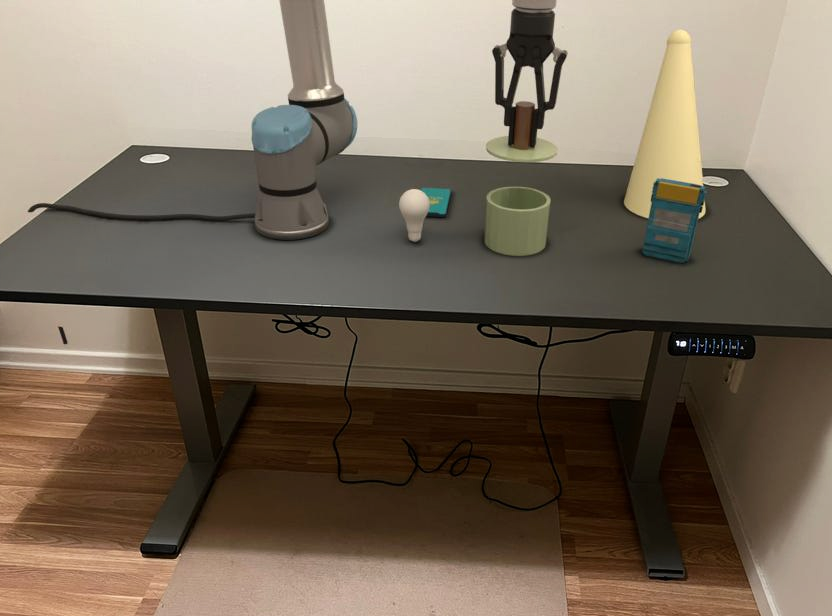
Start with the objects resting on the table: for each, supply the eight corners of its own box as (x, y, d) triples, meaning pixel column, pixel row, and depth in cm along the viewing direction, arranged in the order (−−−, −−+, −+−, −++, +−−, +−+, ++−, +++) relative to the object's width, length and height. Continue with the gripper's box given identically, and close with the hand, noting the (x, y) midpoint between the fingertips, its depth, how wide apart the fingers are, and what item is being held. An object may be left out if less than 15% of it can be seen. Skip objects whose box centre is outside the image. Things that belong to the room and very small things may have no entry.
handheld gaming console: (691, 257, 144) (708, 185, 135) (687, 266, 141) (704, 193, 132) (642, 247, 147) (656, 176, 139) (638, 255, 144) (651, 183, 136)
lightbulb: (435, 239, 148) (435, 188, 142) (418, 250, 144) (418, 198, 138) (410, 232, 151) (410, 182, 145) (393, 243, 147) (392, 191, 141)
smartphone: (451, 188, 169) (445, 213, 157) (451, 191, 170) (445, 217, 157) (420, 187, 170) (412, 212, 157) (420, 190, 170) (412, 216, 158)
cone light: (715, 223, 158) (756, 53, 138) (631, 220, 158) (660, 50, 138) (688, 182, 178) (721, 29, 158) (614, 180, 179) (637, 26, 159)
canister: (479, 251, 144) (481, 207, 139) (490, 226, 154) (492, 183, 149) (542, 259, 142) (546, 213, 137) (548, 232, 152) (553, 189, 147)
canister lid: (479, 161, 134) (482, 110, 129) (492, 138, 145) (495, 91, 139) (553, 168, 132) (558, 117, 126) (560, 145, 142) (565, 97, 137)
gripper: (481, 9, 122) (475, 146, 136) (580, 16, 119) (564, 155, 133) (489, 2, 128) (482, 134, 142) (583, 8, 125) (567, 142, 139)
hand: (521, 144), depth 137 cm, fingers closed on canister lid, 4 cm apart
